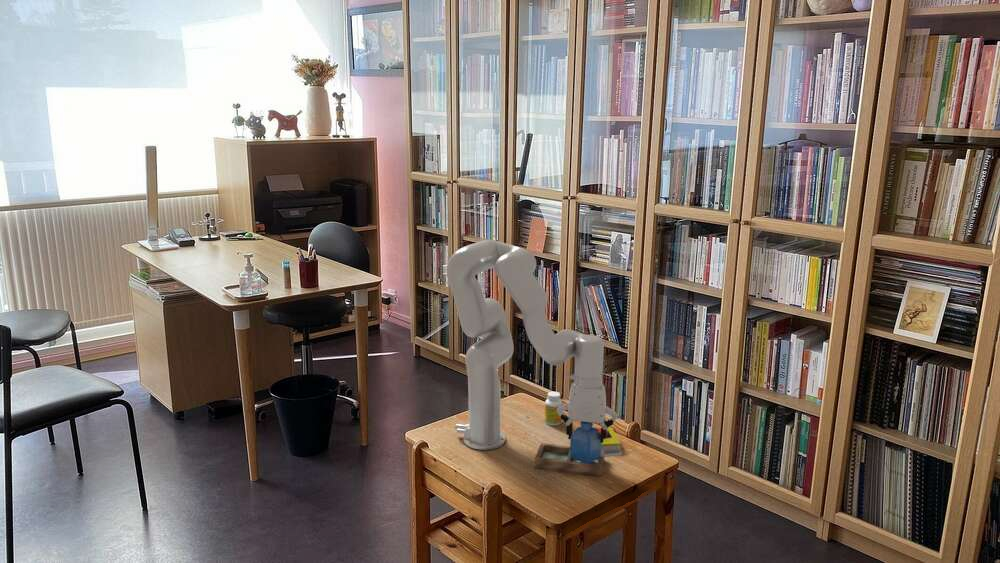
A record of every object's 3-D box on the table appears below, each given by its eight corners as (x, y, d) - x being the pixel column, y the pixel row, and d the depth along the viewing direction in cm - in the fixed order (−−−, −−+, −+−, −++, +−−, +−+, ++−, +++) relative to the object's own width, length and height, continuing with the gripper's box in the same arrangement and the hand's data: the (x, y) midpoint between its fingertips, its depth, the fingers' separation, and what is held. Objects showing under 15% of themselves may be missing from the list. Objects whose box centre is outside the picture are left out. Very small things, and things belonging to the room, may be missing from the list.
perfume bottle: (582, 449, 206) (583, 410, 203) (600, 456, 202) (602, 416, 199) (569, 457, 201) (571, 417, 198) (588, 464, 197) (590, 423, 195)
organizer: (534, 468, 201) (534, 459, 200) (540, 452, 210) (541, 442, 210) (600, 477, 197) (601, 467, 196) (604, 459, 206) (604, 450, 205)
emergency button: (610, 420, 223) (624, 443, 208) (610, 433, 224) (623, 456, 209) (581, 421, 222) (592, 444, 207) (580, 434, 223) (592, 458, 208)
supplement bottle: (544, 425, 228) (545, 397, 225) (544, 418, 233) (545, 390, 230) (561, 426, 227) (562, 397, 225) (561, 418, 233) (562, 390, 230)
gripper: (554, 382, 195) (553, 441, 199) (619, 388, 191) (616, 448, 195) (558, 372, 202) (557, 429, 206) (621, 378, 198) (618, 436, 202)
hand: (586, 438), depth 200 cm, fingers closed on perfume bottle, 8 cm apart
